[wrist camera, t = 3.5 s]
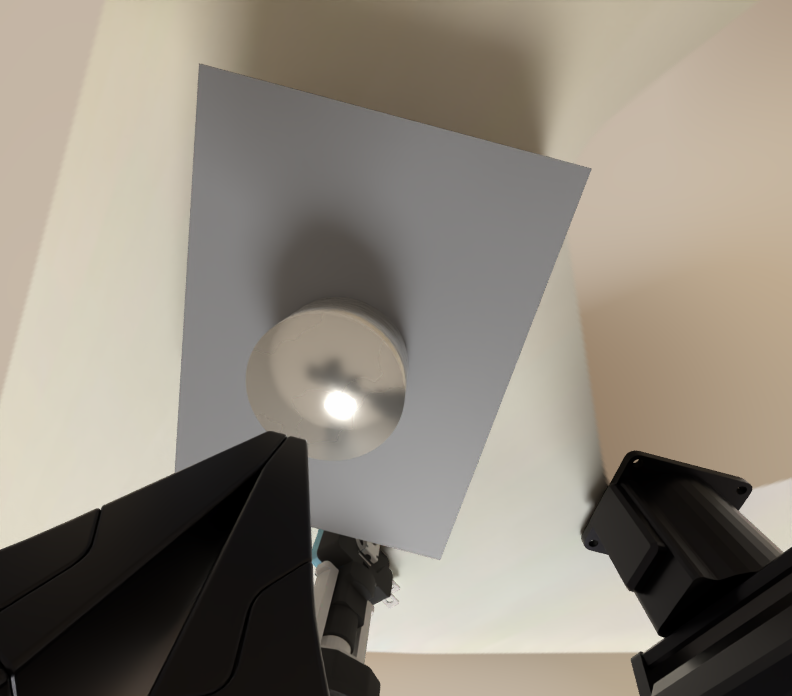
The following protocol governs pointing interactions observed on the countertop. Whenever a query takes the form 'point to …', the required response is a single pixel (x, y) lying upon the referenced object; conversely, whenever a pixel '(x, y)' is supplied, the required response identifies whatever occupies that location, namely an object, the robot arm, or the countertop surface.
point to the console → (365, 282)
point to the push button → (348, 608)
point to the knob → (330, 378)
